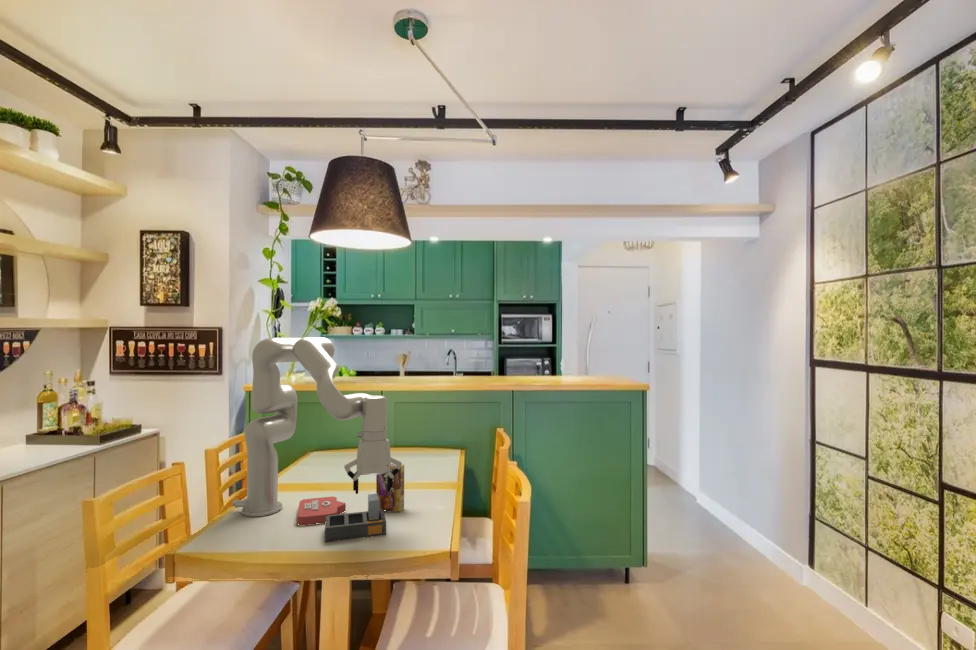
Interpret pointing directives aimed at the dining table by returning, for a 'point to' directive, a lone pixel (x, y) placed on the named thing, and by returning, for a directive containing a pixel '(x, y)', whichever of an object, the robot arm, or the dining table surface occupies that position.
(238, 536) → the dining table surface
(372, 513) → the gray rectangular block
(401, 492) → the candy box
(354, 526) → the rack
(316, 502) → the plaque
